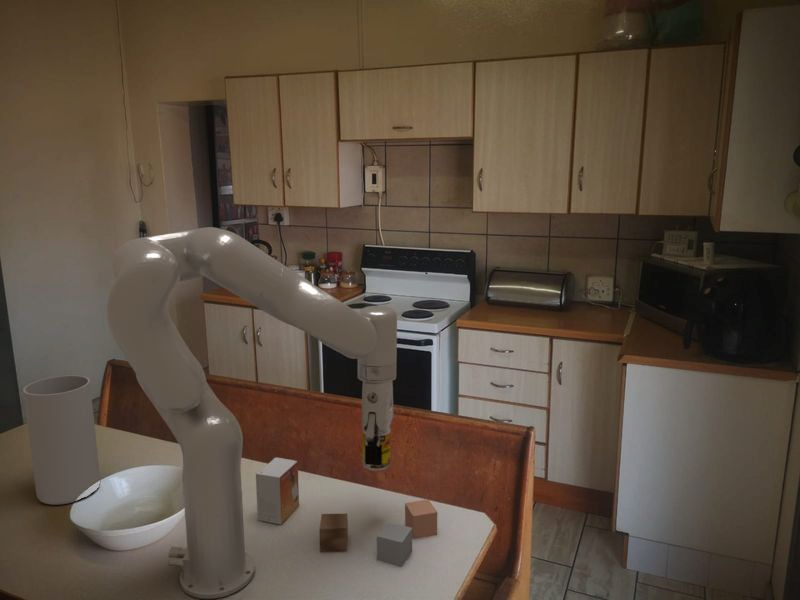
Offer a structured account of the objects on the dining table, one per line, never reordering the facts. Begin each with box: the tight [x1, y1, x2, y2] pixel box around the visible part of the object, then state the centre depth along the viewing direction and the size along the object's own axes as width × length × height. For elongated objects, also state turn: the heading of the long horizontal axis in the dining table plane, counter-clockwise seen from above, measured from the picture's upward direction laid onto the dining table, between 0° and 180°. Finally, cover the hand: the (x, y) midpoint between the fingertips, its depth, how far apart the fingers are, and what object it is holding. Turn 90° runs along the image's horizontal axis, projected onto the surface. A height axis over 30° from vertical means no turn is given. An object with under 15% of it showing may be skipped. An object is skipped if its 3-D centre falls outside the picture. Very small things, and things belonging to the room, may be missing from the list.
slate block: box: [376, 521, 413, 568], centre depth 112 cm, size 5×5×5 cm
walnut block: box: [318, 512, 349, 553], centre depth 116 cm, size 5×5×5 cm
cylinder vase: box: [22, 374, 101, 506], centre depth 132 cm, size 12×12×25 cm
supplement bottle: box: [361, 427, 392, 472], centre depth 120 cm, size 6×6×10 cm
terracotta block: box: [404, 499, 438, 540], centre depth 120 cm, size 5×5×5 cm
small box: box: [255, 456, 300, 526], centre depth 126 cm, size 8×6×10 cm
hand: (376, 455), depth 121 cm, fingers closed on supplement bottle, 5 cm apart
